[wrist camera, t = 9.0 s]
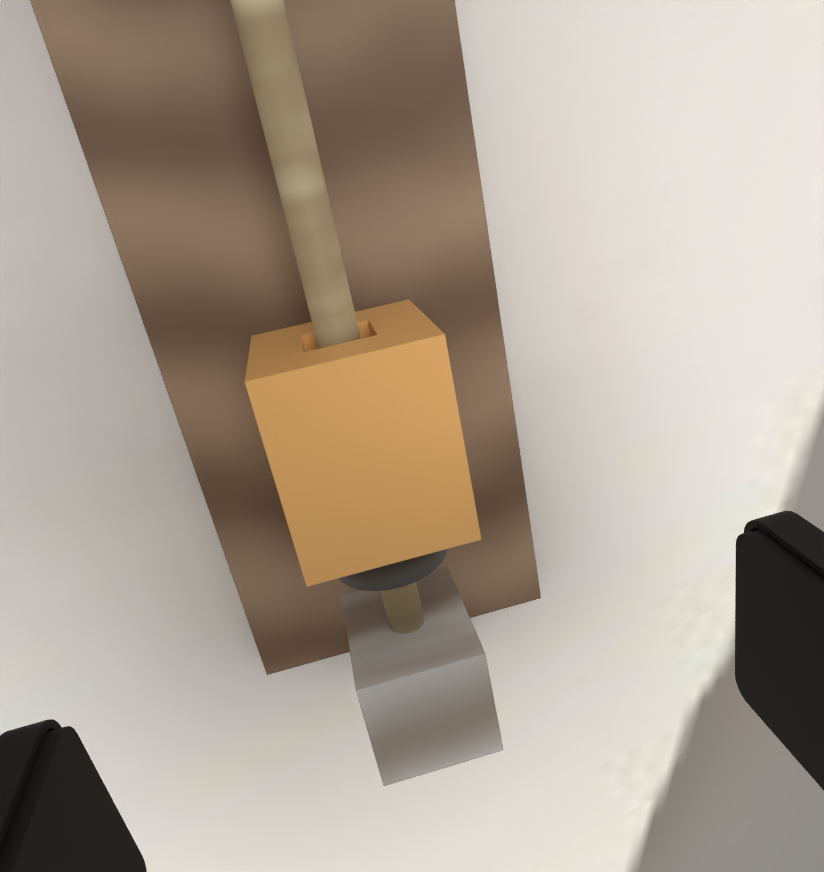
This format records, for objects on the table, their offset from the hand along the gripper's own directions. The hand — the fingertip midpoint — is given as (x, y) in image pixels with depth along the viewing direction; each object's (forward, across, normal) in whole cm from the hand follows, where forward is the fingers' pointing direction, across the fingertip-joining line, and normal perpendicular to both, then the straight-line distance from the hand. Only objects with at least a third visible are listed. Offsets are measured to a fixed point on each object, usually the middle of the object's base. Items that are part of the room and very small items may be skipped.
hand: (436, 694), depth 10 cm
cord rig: (+18, 0, -2) cm, 18 cm away
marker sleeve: (+14, 0, +1) cm, 14 cm away
